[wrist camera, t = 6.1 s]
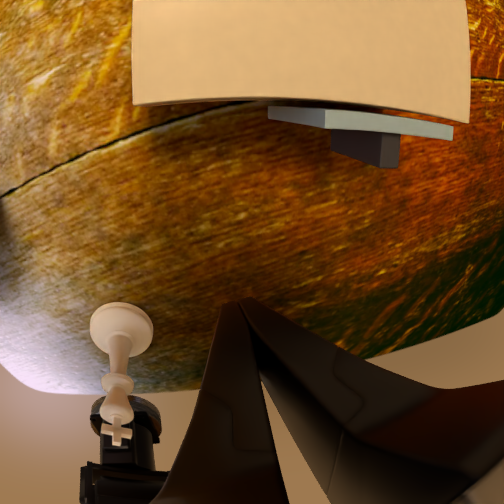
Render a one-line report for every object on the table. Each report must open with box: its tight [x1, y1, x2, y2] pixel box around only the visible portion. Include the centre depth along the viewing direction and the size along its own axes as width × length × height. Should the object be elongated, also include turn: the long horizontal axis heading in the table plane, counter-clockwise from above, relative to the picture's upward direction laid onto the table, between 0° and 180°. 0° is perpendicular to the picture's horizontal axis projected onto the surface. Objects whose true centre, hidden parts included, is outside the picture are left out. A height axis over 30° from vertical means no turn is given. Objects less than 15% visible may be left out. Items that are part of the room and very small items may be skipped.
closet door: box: [268, 106, 453, 168], centre depth 16 cm, size 3×8×7 cm, turn 91°
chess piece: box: [90, 302, 153, 446], centre depth 17 cm, size 5×5×10 cm
